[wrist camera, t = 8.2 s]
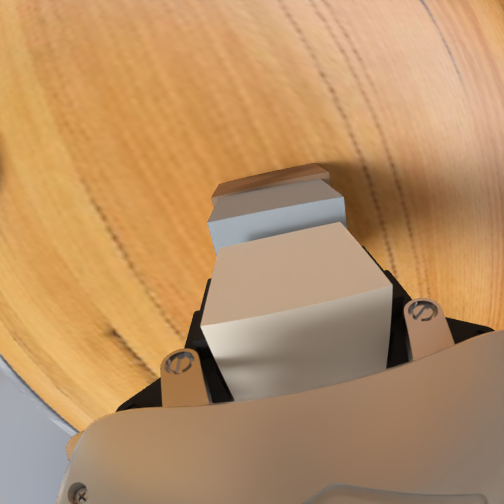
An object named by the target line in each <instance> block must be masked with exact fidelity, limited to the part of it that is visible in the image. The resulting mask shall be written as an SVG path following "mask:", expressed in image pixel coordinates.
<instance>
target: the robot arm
mask: <svg viewBox="0 0 504 504" xmlns="http://www.w3.org/2000/svg"><path fill="white" fill-rule="evenodd" d="M362 248H363V249H364V250H365V251H366V252H367V254H368V255H369V256H370V257H371V259H372V260H373V261H374V262H375V263H376V265H377V266H378V267H379V268H380V270H381V271H382V272H383V273H384V275H385V276H386V277H387V278H388V280H389V281H390V282H391V284H392V285H393V288H392V311H391V326H390V338H389V348H388V357H387V365H386V369H385V370H382V371H379V372H375V373H372V374H369V375H365V376H361V377H358V378H354V379H350V380H346V381H343V382H339V383H334V384H330V385H326V386H322V387H317V388H312V389H308V390H303V391H298V392H292V393H287V394H281V395H275V396H269V397H262V398H256V399H248V400H241V401H235V400H234V398H233V396H232V394H231V392H230V390H229V388H228V386H227V384H226V382H225V380H224V377H223V375H222V373H221V371H220V369H219V367H218V365H217V363H216V360H215V358H214V356H213V354H212V352H211V350H210V347H209V345H208V343H207V341H206V338H205V336H204V334H203V331H202V329H201V327H200V325H201V321H202V317H203V312H204V308H205V304H206V300H207V296H208V291H209V287H210V283H211V279H212V278H211V279H208V281H207V285H206V289H205V293H204V297H203V301H202V304H201V308H200V310H199V311H195V312H194V315H193V318H192V322H191V326H190V329H189V333H188V337H187V340H186V344H185V348H184V349H179V350H176V351H174V352H172V353H170V354H169V355H167V356H166V357H165V358H164V360H163V361H162V363H161V368H160V370H161V377H160V378H159V379H158V380H156V381H155V382H153V383H152V384H150V385H149V386H148V387H146V388H145V389H143V390H142V391H140V392H139V393H137V394H136V395H135V396H133V397H132V398H130V399H129V400H127V401H126V402H124V403H123V404H122V405H121V406H119V408H118V409H117V410H116V412H115V413H112V414H109V415H105V416H103V417H101V418H99V419H97V420H95V421H94V422H92V423H91V424H90V425H89V426H88V427H87V428H86V429H85V430H84V431H82V432H80V433H78V434H76V435H74V436H73V437H71V438H70V440H69V441H68V443H67V446H66V452H67V456H68V460H69V464H68V466H67V469H66V472H65V475H64V477H63V480H62V484H61V487H60V490H59V494H58V498H57V501H56V504H504V330H497V331H495V330H493V329H492V328H489V327H487V326H482V325H478V324H473V323H469V322H464V321H460V320H456V319H451V318H447V317H445V316H444V313H443V310H442V308H441V306H440V305H439V304H438V303H437V302H436V301H434V300H431V299H427V298H417V299H413V300H412V299H411V297H410V296H409V295H408V294H407V292H406V291H405V290H404V289H403V287H402V286H401V285H400V284H399V282H398V281H397V280H396V279H395V277H394V276H393V275H392V274H391V273H390V272H389V271H388V270H385V271H384V270H383V269H382V268H381V266H380V265H379V264H378V263H377V262H376V260H375V259H374V258H373V257H372V256H371V254H370V253H369V252H368V251H367V250H366V249H365V247H364V246H362Z"/></svg>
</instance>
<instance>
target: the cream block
mask: <svg viewBox="0 0 504 504" xmlns="http://www.w3.org/2000/svg"><path fill="white" fill-rule="evenodd" d="M392 288H393V285H392V284H391V282H390V281H389V280H388V278H387V277H386V276H385V275H384V273H383V272H382V271H381V270H380V268H379V267H378V266H377V265H376V263H375V262H374V261H373V260H372V259H371V257H370V256H369V255H368V254H367V252H366V251H365V250H364V249H363V248H362V246H361V245H360V244H359V243H358V242H357V241H356V239H355V238H354V237H353V236H352V235H351V234H350V232H349V231H348V230H347V229H346V228H345V227H344V226H343V224H342V223H341V222H336V223H332V224H327V225H322V226H317V227H313V228H308V229H303V230H299V231H294V232H290V233H285V234H280V235H276V236H271V237H266V238H262V239H257V240H253V241H248V242H244V243H239V244H235V245H230V246H226V247H221V248H219V251H218V255H217V259H216V263H215V267H214V271H213V275H212V279H211V283H210V287H209V291H208V296H207V300H206V304H205V308H204V312H203V317H202V321H201V325H200V327H201V329H202V331H203V334H204V336H205V338H206V341H207V343H208V345H209V347H210V350H211V352H212V354H213V356H214V358H215V360H216V363H217V365H218V367H219V369H220V371H221V373H222V375H223V377H224V380H225V382H226V384H227V386H228V388H229V390H230V392H231V394H232V396H233V398H234V400H235V401H241V400H248V399H256V398H262V397H269V396H275V395H281V394H287V393H292V392H298V391H303V390H308V389H312V388H317V387H322V386H326V385H330V384H334V383H339V382H343V381H346V380H350V379H354V378H358V377H361V376H365V375H369V374H372V373H375V372H379V371H382V370H385V369H386V365H387V357H388V348H389V338H390V326H391V311H392Z"/></svg>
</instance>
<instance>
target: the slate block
mask: <svg viewBox="0 0 504 504" xmlns="http://www.w3.org/2000/svg"><path fill="white" fill-rule="evenodd" d="M336 222H341V223H342V224H343V226H344V227H345V228H346V229H347V224H346V214H345V204H344V197H343V196H342V195H341V194H340V193H338V192H337V191H336V190H334V189H333V188H332V187H330V186H329V185H328V184H326V183H325V182H324V181H322V180H321V179H316V180H310V181H304V182H299V183H293V184H287V185H282V186H277V187H271V188H266V189H261V190H256V191H251V192H246V193H241V194H236V195H232V196H227V197H222V198H218V200H217V203H216V205H215V207H214V209H213V211H212V214H211V216H210V218H209V220H208V222H207V223H208V227H209V231H210V234H211V238H212V241H213V245H214V249H215V252H216V256H217V255H218V251H219V248H221V247H226V246H230V245H235V244H239V243H244V242H248V241H253V240H257V239H262V238H266V237H271V236H276V235H280V234H285V233H290V232H294V231H299V230H303V229H308V228H313V227H317V226H322V225H327V224H332V223H336Z"/></svg>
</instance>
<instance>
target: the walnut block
mask: <svg viewBox="0 0 504 504" xmlns="http://www.w3.org/2000/svg"><path fill="white" fill-rule="evenodd" d="M316 179H321V180H322V181H324V182H325V183H326V184H328V185H329V186H330V187H331V181H330V175H329V172H328V171H327V170H325V169H323V168H321V167H320V166H318V165H316V164H314V163H312V164H306V165H301V166H296V167H291V168H286V169H282V170H277V171H272V172H268V173H263V174H259V175H255V176H250V177H246V178H242V179H238V180H234V181H230V182H226V183H222V184H219V185H218V187H217V189H216V190H215V192H214V194H213V196H212V197H211V199H212V203H213V206H214V207H215V205H216V203H217V200H218V198H222V197H227V196H232V195H236V194H241V193H246V192H251V191H256V190H261V189H266V188H271V187H277V186H282V185H287V184H293V183H299V182H304V181H310V180H316Z"/></svg>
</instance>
